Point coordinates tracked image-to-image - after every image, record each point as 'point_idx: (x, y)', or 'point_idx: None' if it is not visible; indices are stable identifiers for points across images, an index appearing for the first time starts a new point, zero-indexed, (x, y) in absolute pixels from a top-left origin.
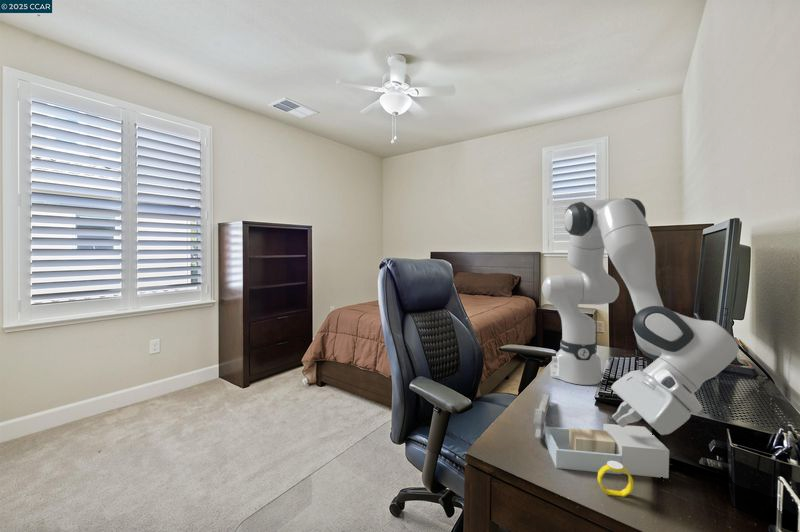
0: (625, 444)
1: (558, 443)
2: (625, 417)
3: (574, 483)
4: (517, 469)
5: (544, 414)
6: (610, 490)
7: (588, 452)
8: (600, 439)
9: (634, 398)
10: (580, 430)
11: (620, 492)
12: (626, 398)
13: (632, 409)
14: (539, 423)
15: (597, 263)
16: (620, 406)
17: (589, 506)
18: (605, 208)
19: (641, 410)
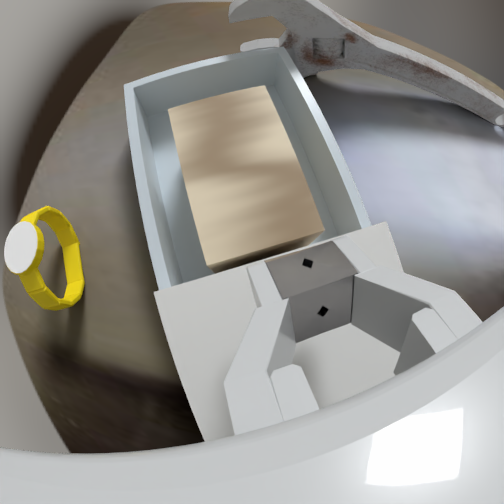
0: (181, 312)
1: (277, 108)
2: (251, 328)
3: (86, 166)
4: (113, 62)
5: (402, 70)
6: (75, 252)
7: (137, 167)
8: (204, 198)
9: (424, 489)
10: (260, 120)
11: (75, 278)
12: (487, 354)
13: (281, 417)
14: (229, 14)
15: None
16: (424, 290)
17: (23, 205)
18: None
19: (70, 493)
